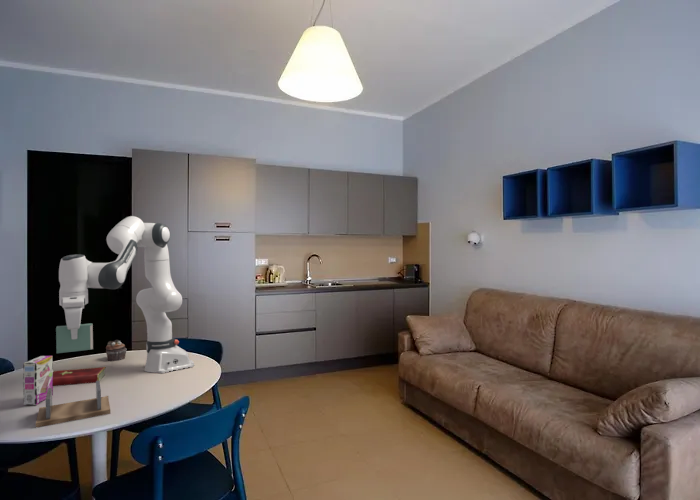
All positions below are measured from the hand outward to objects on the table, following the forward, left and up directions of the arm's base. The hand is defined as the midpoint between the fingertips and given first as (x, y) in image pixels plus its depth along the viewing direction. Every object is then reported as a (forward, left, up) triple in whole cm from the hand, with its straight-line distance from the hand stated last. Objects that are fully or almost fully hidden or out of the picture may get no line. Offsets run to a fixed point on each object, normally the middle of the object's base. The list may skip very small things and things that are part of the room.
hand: (74, 337), depth 159 cm
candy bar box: (+12, -22, -28) cm, 38 cm away
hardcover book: (0, -43, -28) cm, 52 cm away
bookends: (+1, 0, -26) cm, 26 cm away
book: (0, 0, -5) cm, 5 cm away
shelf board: (0, 0, -27) cm, 27 cm away
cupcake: (-17, -73, -28) cm, 80 cm away
